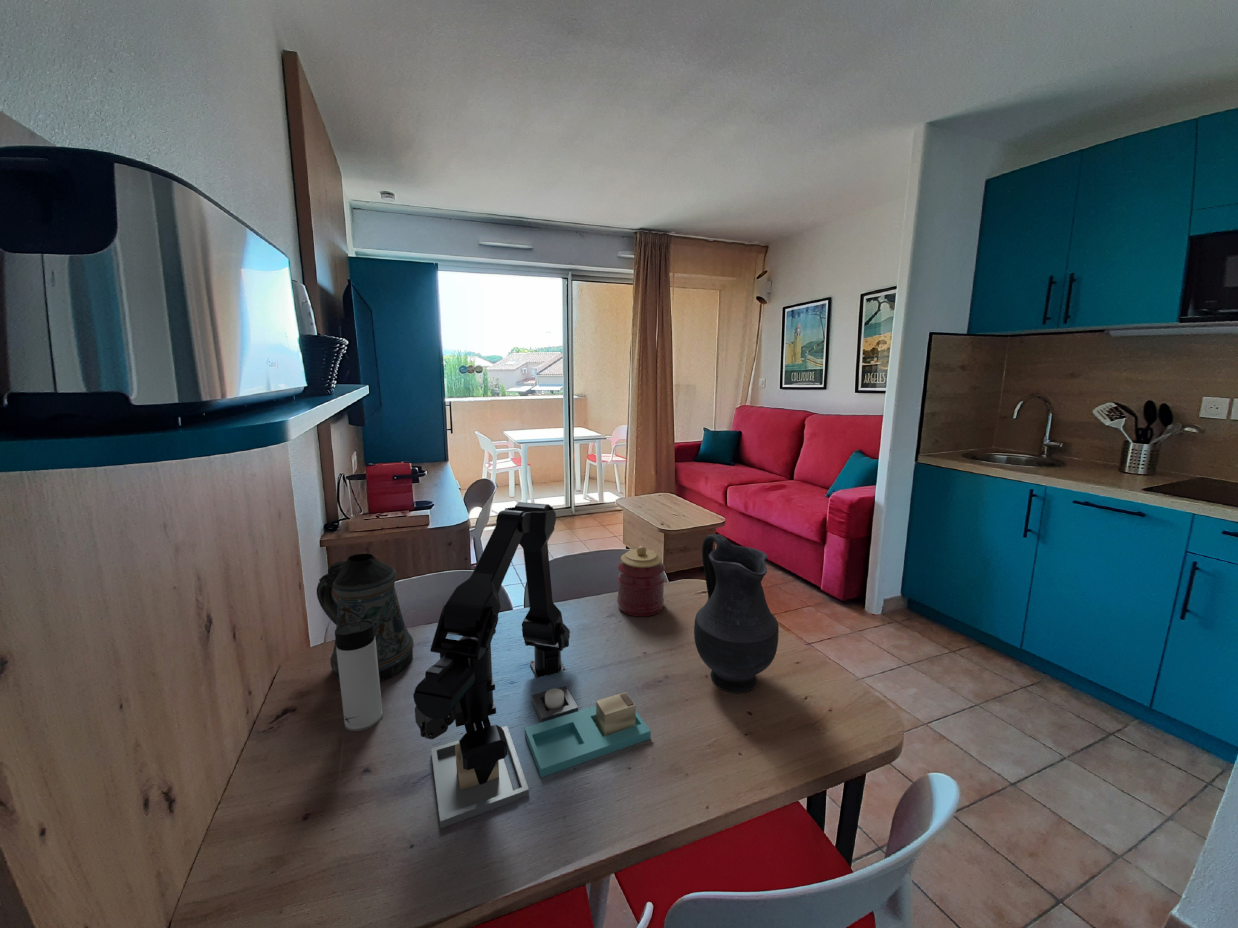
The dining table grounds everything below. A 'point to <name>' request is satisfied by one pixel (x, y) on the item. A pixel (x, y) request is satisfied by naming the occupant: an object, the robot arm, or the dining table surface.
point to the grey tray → (476, 798)
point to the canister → (640, 582)
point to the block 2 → (615, 714)
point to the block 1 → (470, 772)
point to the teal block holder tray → (577, 740)
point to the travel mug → (359, 675)
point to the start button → (554, 699)
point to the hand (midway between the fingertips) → (477, 761)
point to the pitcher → (735, 616)
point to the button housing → (545, 716)
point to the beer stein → (368, 609)
